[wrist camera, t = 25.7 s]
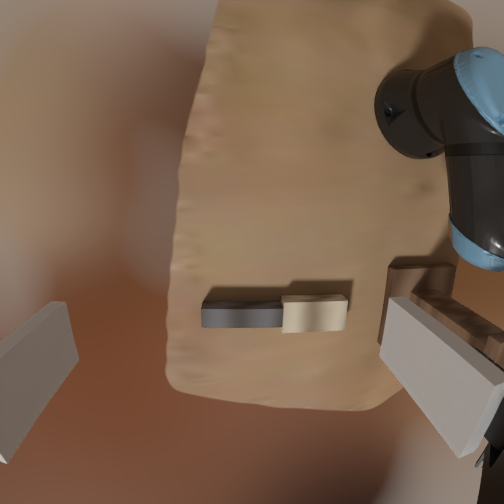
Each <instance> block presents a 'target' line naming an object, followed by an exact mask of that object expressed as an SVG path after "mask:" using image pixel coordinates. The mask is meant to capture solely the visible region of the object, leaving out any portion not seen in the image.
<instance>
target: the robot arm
mask: <svg viewBox="0 0 504 504" xmlns="http://www.w3.org/2000/svg"><path fill="white" fill-rule="evenodd" d="M374 107H375V115H376V120H377V123H378V126H379V128H380V130H381V132H382V134H383V136H384V137H385V139H386V140H387V141H388V143H389V144H390V145H391V146H392V147H393V148H394V149H395V150H397V151H398V152H399V153H401V154H403V155H405V156H407V157H410V158H413V159H429V158H433V157H436V156H438V155H440V154H442V153H443V152H444V151H445V155H446V157H445V158H446V166H447V176H448V188H449V203H450V214H449V222H450V224H451V237H452V244H453V247H454V248H455V250H456V251H457V253H458V254H459V255H460V256H461V257H462V258H463V259H464V260H466V261H468V262H469V263H471V264H473V265H475V266H478V267H481V268H484V269H487V270H491V271H496V272H501V271H502V270H504V55H503V54H502V53H500V52H498V51H497V50H495V49H492V48H488V47H477V48H474V49H471V50H468V51H461V52H459V53H457V54H456V55H455V56H453V57H450V58H448V59H446V60H444V61H442V62H440V63H438V64H436V65H434V66H432V67H430V68H428V69H426V70H402V71H398V72H396V73H394V74H392V75H390V76H389V77H387V78H386V79H384V80H383V82H382V83H381V84H380V86H379V87H378V89H377V92H376V96H375V103H374ZM379 356H380V358H381V359H382V360H383V361H384V363H385V364H386V365H387V366H388V368H389V369H390V370H391V371H392V373H393V374H394V375H395V376H396V378H397V379H398V380H399V382H400V383H401V384H402V385H403V387H404V388H405V389H406V390H407V392H408V393H409V394H410V396H411V397H412V398H413V399H414V401H415V402H416V403H417V405H418V406H419V407H420V409H421V410H422V411H423V412H424V414H425V415H426V416H427V418H428V419H429V420H430V422H431V423H432V424H433V425H434V427H435V428H436V429H437V431H438V432H439V434H440V435H441V436H442V437H443V439H444V440H445V441H446V442H447V444H448V445H449V447H450V448H451V449H452V451H453V452H454V454H455V455H456V456H457V458H461V457H463V456H465V455H467V454H469V453H472V452H474V451H476V449H477V448H478V446H479V444H480V442H481V441H482V439H483V437H485V438H486V439H487V440H488V441H489V443H488V444H487V446H486V448H485V450H484V451H483V453H482V454H481V456H480V457H479V459H478V461H477V462H476V465H475V467H478V466H479V464H480V463H481V461H483V460H484V461H483V466H482V468H483V469H482V477H481V483H480V490H479V495H478V501H477V504H504V369H503V368H502V367H501V366H499V365H498V364H497V363H494V361H493V360H492V359H491V358H489V357H488V358H487V355H486V354H484V353H483V352H482V351H480V350H479V349H478V348H475V347H473V346H471V345H469V344H468V343H466V342H465V341H464V340H462V339H461V338H460V337H459V336H457V335H456V334H455V333H453V332H452V331H451V330H449V329H448V328H447V327H445V326H444V325H443V324H441V323H440V322H439V321H437V320H436V319H435V318H433V317H432V316H431V315H429V314H428V313H427V312H425V311H424V310H423V309H421V308H420V307H419V306H417V305H416V304H414V303H413V302H412V301H410V300H409V299H408V298H406V297H405V296H403V297H391V298H389V302H388V309H387V315H386V321H385V327H384V333H383V338H382V344H381V349H380V354H379ZM78 361H79V357H78V354H77V350H76V346H75V342H74V338H73V333H72V329H71V325H70V320H69V315H68V310H67V305H66V302H56V301H51V302H50V303H48V304H47V305H46V306H45V307H43V308H42V309H41V310H39V311H38V312H37V313H36V314H34V315H33V316H32V317H31V318H29V319H28V320H27V321H25V322H24V323H23V324H22V325H20V326H19V327H18V328H17V329H15V330H14V331H13V332H12V333H11V334H9V335H8V336H7V337H6V338H5V339H3V340H2V341H1V342H0V461H1V462H4V463H6V464H8V463H9V461H10V460H11V458H12V456H13V455H14V453H15V451H16V450H17V448H18V447H19V445H20V444H21V442H22V441H23V439H24V438H25V436H26V435H27V433H28V432H29V430H30V428H31V427H32V425H33V424H34V423H35V421H36V420H37V418H38V417H39V415H40V414H41V412H42V411H43V409H44V408H45V407H46V405H47V404H48V402H49V401H50V399H51V398H52V397H53V395H54V394H55V392H56V391H57V390H58V388H59V387H60V385H61V384H62V383H63V381H64V380H65V379H66V377H67V376H68V374H69V373H70V372H71V370H72V369H73V368H74V366H75V365H76V364H77V362H78Z"/></svg>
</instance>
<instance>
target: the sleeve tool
mask: <svg viewBox="0 0 504 504" xmlns="http://www.w3.org/2000/svg"><path fill="white" fill-rule="evenodd" d="M347 306H348V300H347V299H346V298H345V297H344V296H343V295H342V294H333V295H281V301H280V302H206V301H203V303H202V307H201V319H202V328H269V327H280V328H281V331H282V333H298V332H320V331H338V330H344V328H345V321H346V313H347Z"/></svg>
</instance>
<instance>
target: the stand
mask: <svg viewBox="0 0 504 504" xmlns="http://www.w3.org/2000/svg"><path fill="white" fill-rule="evenodd" d="M455 272H456V266H454V265H451V264H437V265H413V266H388V273H387V282H386V290H385V297H384V304H383V311H382V317H381V324H380V330H379V335H378V341H377V342H378V343H379V344H380V345H381V344H382V338H383V333H384V327H385V321H386V315H387V309H388V302H389V298H391V297H403V296H405V297H406V298H408V299H409V300H410V301H412V302H413V303H414V304H416V305H417V306H419V307H420V308H421V309H423V310H424V311H425V312H427V313H428V314H429V315H431V316H432V317H433V318H435V319H436V320H437V321H439V322H440V323H441V324H443V325H444V326H445V327H447V328H448V329H449V330H451V331H452V332H453V333H455V334H456V335H457V336H459V337H460V338H461V339H462V340H464V341H465V342H466V343H468V344H469V345H471V346H473V347H475V348H478V349H479V350H480V351H482V352H483V353H484V354H486V355H487V358H488V357H489V358H491V359H492V360H493V361H494V363H497V364H498V365H499V366H501V367H502V368H503V369H504V331H503V330H502V329H500V328H499V327H497V326H496V325H494V324H492V323H491V322H489V321H488V320H486V319H485V318H483V317H481V316H480V315H478V314H477V313H475V312H473V311H472V310H470V309H469V308H467V307H465V306H464V305H462V304H460V303H459V302H457V301H455V300H454V299H452V298H451V296H452V290H453V284H454V278H455Z"/></svg>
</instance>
